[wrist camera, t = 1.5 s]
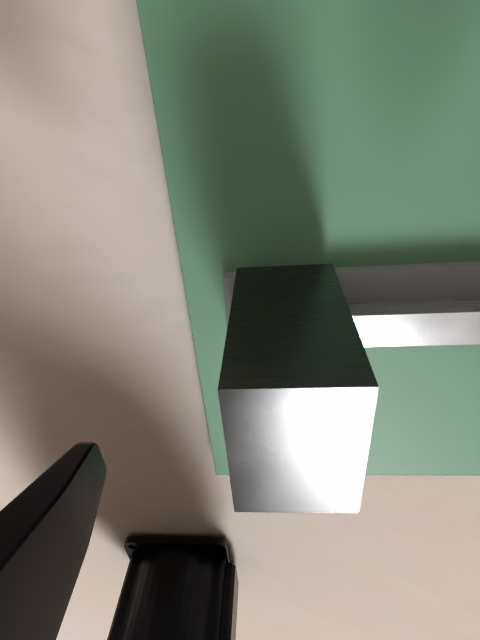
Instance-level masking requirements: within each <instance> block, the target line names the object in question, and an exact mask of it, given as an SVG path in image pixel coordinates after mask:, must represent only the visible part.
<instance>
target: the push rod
mask: <svg viewBox="0 0 480 640" xmlns="http://www.w3.org/2000/svg"><path fill="white" fill-rule="evenodd" d="M466 344H480V299H459V300H431V301H403V302H375V303H347V301H346V298H345V296H344V293H343V290H342V288H341V285H340V282H339V280H338V277H337V274H336V272H335V269H334V266H333V264H332V263H331V264H309V265H286V266H264V267H242V268H237V270H236V276H235V283H234V289H233V295H232V302H231V308H230V314H229V321H228V327H227V333H226V340H225V346H224V352H223V359H222V365H221V371H220V378H219V384H218V396H219V403H220V410H221V417H222V425H223V432H224V439H225V446H226V453H227V461H228V468H229V475H230V482H231V489H232V497H233V504H234V511H235V512H290V513H359V511H360V505H361V498H362V492H363V485H364V479H365V473H366V466H367V460H368V453H369V447H370V441H371V434H372V428H373V421H374V415H375V408H376V402H377V396H378V389H379V386H378V383H377V381H376V378H375V375H374V373H373V370H372V367H371V365H370V362H369V359H368V357H367V354H366V351H365V349H364V347H388V346H427V345H466Z"/></svg>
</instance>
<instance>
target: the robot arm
mask: <svg viewBox="0 0 480 640" xmlns="http://www.w3.org/2000/svg"><path fill="white" fill-rule="evenodd" d="M105 476H106V465H105V462H104V459H103V457H102V454H101V452H100V449H99V447H98V445H97V444H96V443H94V442H81V443H78V444H76V445H74V446H73V447H72V448H71V449H70V450H69V451H68V452H66V453H65V454H64V455H63V456H62V457H61V458H60V459H59V460H57V461H56V462H55V463H54V464H53V465H52V466H51V467H50V468H48V469H47V470H46V471H45V472H44V473H43V474H42V475H41V476H39V477H38V478H37V479H36V480H35V481H34V482H33V483H31V484H30V485H29V486H28V487H27V488H26V489H25V490H24V491H22V492H21V493H20V494H19V495H18V496H17V497H16V498H15V499H13V500H12V501H11V502H10V503H9V504H8V505H7V506H6V507H4V508H3V509H2V510H1V511H0V640H56V638H57V635H58V632H59V629H60V626H61V623H62V621H63V618H64V615H65V612H66V609H67V606H68V603H69V600H70V598H71V595H72V592H73V589H74V586H75V583H76V580H77V578H78V575H79V572H80V569H81V566H82V563H83V560H84V557H85V555H86V551H87V548H88V545H89V542H90V538H91V534H92V531H93V526H94V522H95V518H96V514H97V510H98V506H99V501H100V497H101V493H102V489H103V485H104V481H105ZM124 548H125V550H126V552H127V554H128V557H129V559H130V562H129V566H128V569H127V573H126V576H125V580H124V583H123V587H122V590H121V594H120V597H119V601H118V604H117V608H116V611H115V615H114V618H113V622H112V625H111V629H110V632H109V636H108V639H107V640H235V637H236V619H237V601H238V578H237V571H236V566H235V565H234V563H233V562H230V559H229V553H228V547H227V542H226V540H224V539H222V538H205V537H150V536H129V537H127V538H126V540H125V544H124Z"/></svg>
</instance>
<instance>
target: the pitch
mask: <svg viewBox="0 0 480 640" xmlns="http://www.w3.org/2000/svg"><path fill="white" fill-rule="evenodd" d="M136 1H137V7H138V13H139V19H140V25H141V30H142V36H143V42H144V48H145V54H146V60H147V66H148V72H149V78H150V84H151V90H152V96H153V102H154V108H155V114H156V120H157V126H158V132H159V138H160V144H161V150H162V156H163V162H164V168H165V173H166V179H167V185H168V191H169V197H170V203H171V209H172V215H173V221H174V227H175V233H176V239H177V245H178V251H179V257H180V263H181V269H182V275H183V281H184V287H185V293H186V299H187V305H188V311H189V317H190V322H191V328H192V334H193V340H194V346H195V352H196V358H197V364H198V370H199V376H200V382H201V388H202V394H203V400H204V406H205V412H206V418H207V424H208V430H209V436H210V442H211V448H212V454H213V460H214V465H215V471H216V475H229V468H228V461H227V453H226V446H225V439H224V432H223V425H222V417H221V410H220V403H219V396H218V384H219V378H220V371H221V365H222V359H223V352H224V346H225V340H226V333H227V327H228V321H229V314H230V308H231V302H232V295H233V289H234V283H235V276H236V270H237V268H242V267H264V266H286V265H309V264H331V263H332V264H333V266H334V269H335V272H336V274H337V277H338V280H339V282H340V285H341V288H342V290H343V293H344V296H345V298H346V301H347V303H375V302H403V301H431V300H459V299H480V0H136ZM364 349H365V351H366V354H367V357H368V359H369V362H370V365H371V367H372V370H373V373H374V375H375V378H376V381H377V383H378V386H379V389H378V396H377V402H376V408H375V415H374V421H373V428H372V434H371V441H370V447H369V453H368V460H367V466H366V473H365V475H451V476H480V344H466V345H427V346H388V347H364Z"/></svg>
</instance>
